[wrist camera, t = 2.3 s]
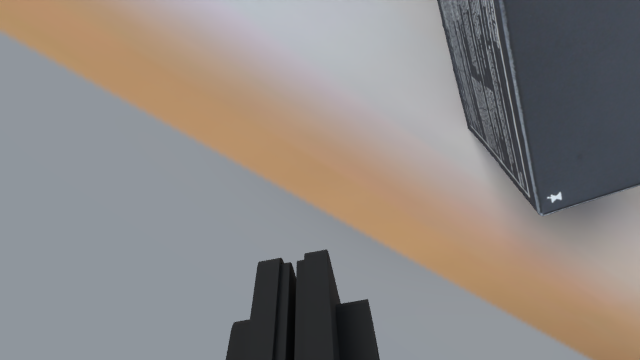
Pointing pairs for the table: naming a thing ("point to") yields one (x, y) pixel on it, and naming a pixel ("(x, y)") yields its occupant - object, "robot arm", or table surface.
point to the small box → (551, 92)
